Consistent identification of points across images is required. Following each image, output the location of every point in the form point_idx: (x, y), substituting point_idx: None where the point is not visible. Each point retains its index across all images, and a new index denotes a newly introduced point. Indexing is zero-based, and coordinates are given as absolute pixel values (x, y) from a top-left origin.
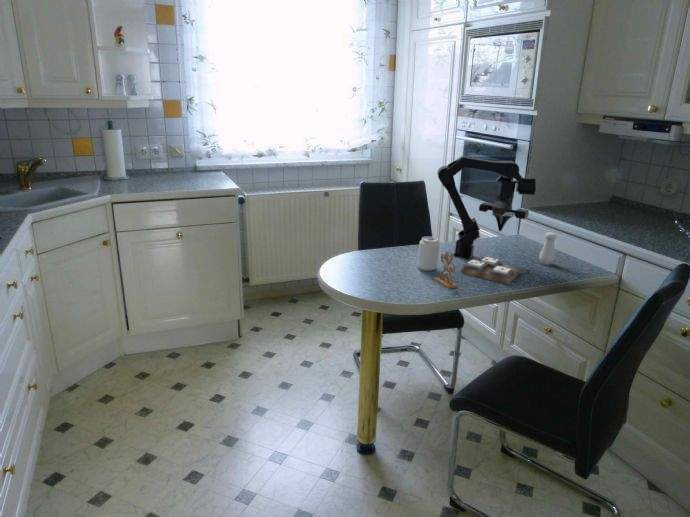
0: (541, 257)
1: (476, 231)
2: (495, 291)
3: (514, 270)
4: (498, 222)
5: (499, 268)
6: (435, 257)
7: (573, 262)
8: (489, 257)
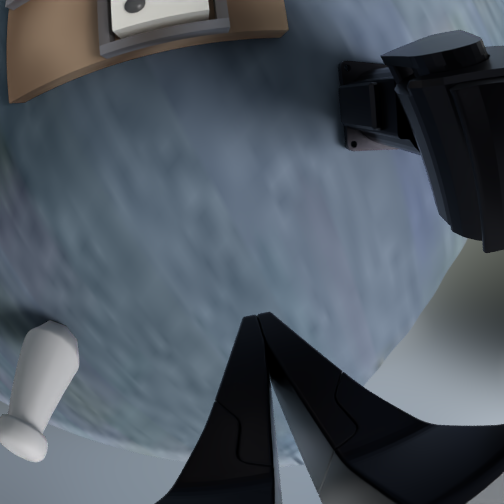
0: (48, 336)
1: (453, 71)
2: None
3: (19, 45)
4: (330, 389)
5: None
6: None
7: None
8: (181, 10)
